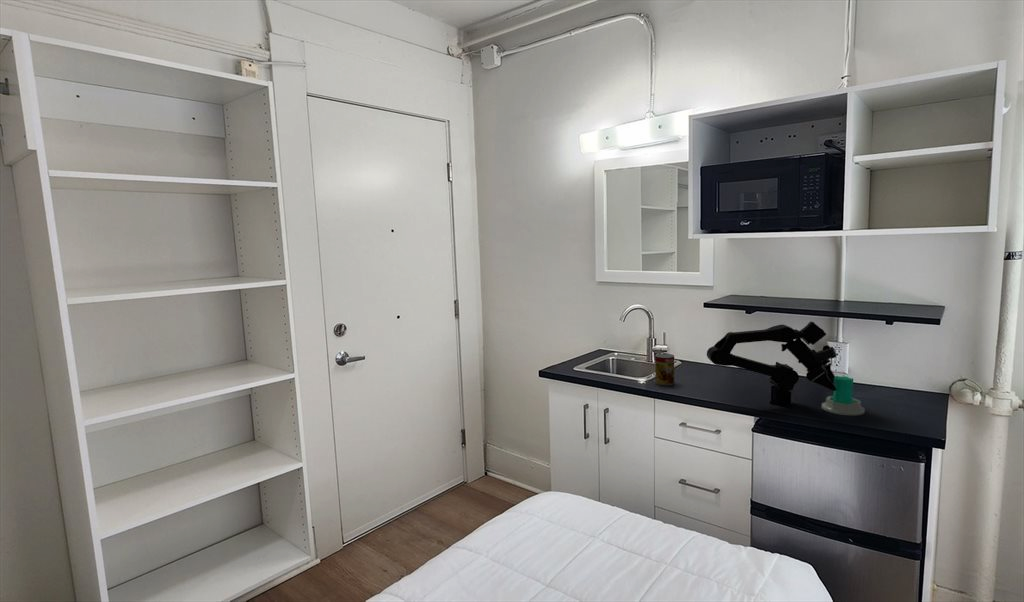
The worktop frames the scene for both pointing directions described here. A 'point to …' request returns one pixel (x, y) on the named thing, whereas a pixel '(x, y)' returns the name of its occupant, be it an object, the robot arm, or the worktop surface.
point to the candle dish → (843, 407)
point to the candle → (843, 389)
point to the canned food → (664, 369)
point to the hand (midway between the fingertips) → (836, 387)
